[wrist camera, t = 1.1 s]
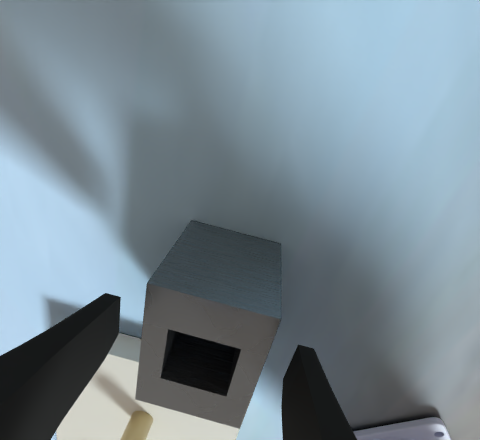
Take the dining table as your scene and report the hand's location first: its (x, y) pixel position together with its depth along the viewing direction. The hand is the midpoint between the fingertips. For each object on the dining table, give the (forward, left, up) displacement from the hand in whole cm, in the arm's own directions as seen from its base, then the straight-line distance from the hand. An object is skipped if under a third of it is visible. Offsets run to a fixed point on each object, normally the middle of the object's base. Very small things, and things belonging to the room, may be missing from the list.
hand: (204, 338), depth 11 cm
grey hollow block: (0, 0, -4) cm, 4 cm away
